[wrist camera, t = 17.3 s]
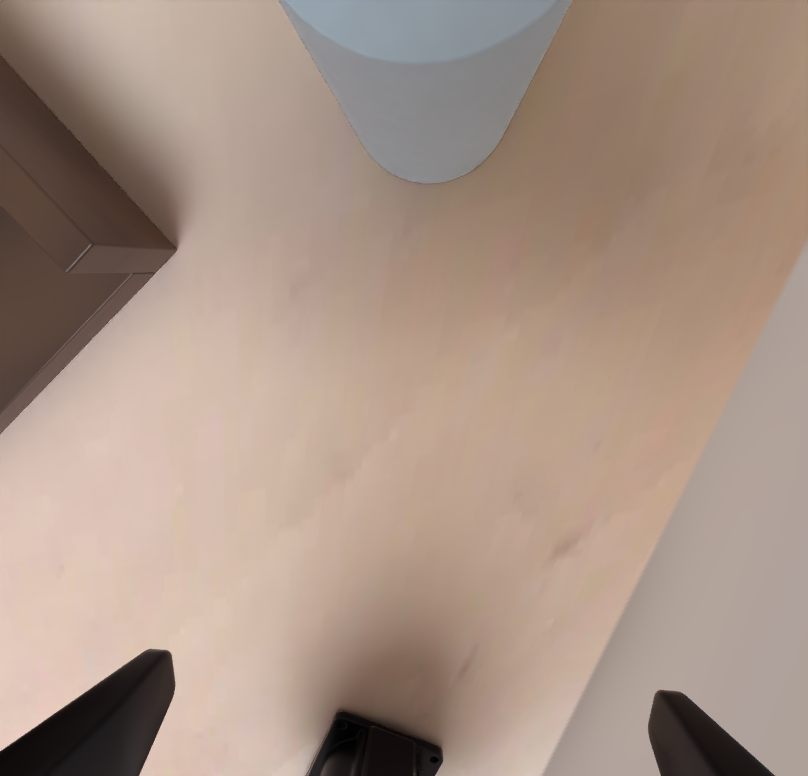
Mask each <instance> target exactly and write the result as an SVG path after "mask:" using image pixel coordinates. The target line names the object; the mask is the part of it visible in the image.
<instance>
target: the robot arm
mask: <svg viewBox="0 0 808 776" xmlns="http://www.w3.org/2000/svg"><path fill="white" fill-rule="evenodd" d="M174 691H175V676H174V668H173V660H172V655H171V653H170V652H169V651H167V650H159V649H149V650H146V651H144V652H143V653H141V654H140V655H138V656H137V657H135V658H134V659H133V660H131V661H130V662H128V663H127V664H125V665H124V666H122V667H121V668H120V669H118V670H117V671H115V672H114V673H112V674H111V675H110V676H108V677H107V678H105V679H104V680H102V681H101V682H99V683H98V684H97V685H95V686H94V687H92V688H91V689H89V690H88V691H87V692H85V693H84V694H82V695H81V696H79V697H78V698H76V699H75V700H74V701H72V702H71V703H69V704H68V705H66V706H65V707H64V708H62V709H61V710H59V711H58V712H56V713H55V714H53V715H52V716H51V717H49V718H48V719H46V720H45V721H43V722H42V723H41V724H39V725H38V726H36V727H35V728H33V729H32V730H30V731H29V732H28V733H26V734H25V735H23V736H22V737H20V738H19V739H17V740H16V741H15V742H13V743H12V744H10V745H9V746H7V747H6V748H5V749H3V750H2V751H0V776H139V775H140V772H141V770H142V768H143V765H144V763H145V761H146V759H147V756H148V754H149V752H150V749H151V747H152V745H153V742H154V740H155V738H156V735H157V733H158V731H159V729H160V726H161V724H162V722H163V719H164V717H165V715H166V712H167V710H168V708H169V705H170V703H171V701H172V698H173V695H174ZM648 733H649V738H650V742H651V745H652V749H653V751H654V755H655V758H656V762H657V764H658V768H659V771H660V774H661V776H775V775H774V774H772V773H771V772H770V771H769V770H768V769H767V768H766V767H765V766H764V765H763V764H761V763H760V762H759V761H758V760H757V759H756V758H755V757H754V756H753V755H751V754H750V753H749V752H748V751H747V750H746V749H745V748H744V747H742V746H741V745H740V744H739V743H738V742H737V741H736V740H734V738H733V737H731V736H730V735H729V734H728V733H727V732H726V731H725V730H724V729H722V728H721V727H720V726H719V725H718V724H717V723H716V722H715V721H714V720H713V719H711V718H710V717H709V716H708V715H707V714H706V713H705V712H704V711H703V710H701V709H700V708H699V707H698V706H697V705H696V704H695V703H694V702H692V701H691V700H690V699H689V698H688V697H687V696H686V695H684V694H683V693H681V692H678V691H666V690H659V691H657V692H656V693H655V696H654V700H653V704H652V709H651V714H650V718H649V723H648ZM442 762H443V751H442V749H441V748H440V747H438V746H435V745H433V744H430V743H427V742H425V741H422V740H419V739H416V738H414V737H411V736H408V735H406V734H403V733H400V732H398V731H395V730H392V729H390V728H387V727H384V726H382V725H379V724H376V723H374V722H371V721H368V720H366V719H363V718H360V717H358V716H355V715H352V714H349V713H347V712H338V713H336V715H335V716H334V718H333V720H332V723H331V725H330V727H329V729H328V731H327V733H326V735H325V738H324V740H323V742H322V744H321V746H320V748H319V750H318V752H317V755H316V757H315V759H314V761H313V763H312V765H311V767H310V770H309V772H308V774H307V776H435V775H436V773H437V771H438V769H439V768H440V766H441V764H442Z"/></svg>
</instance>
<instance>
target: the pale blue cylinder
mask: <svg viewBox="0 0 808 776" xmlns="http://www.w3.org/2000/svg"><path fill="white" fill-rule="evenodd" d="M572 1H573V0H279V2H280V4H281V6H282V7H283V9H284V11H285V12H286V14H287V16H288V18H289V19H290V21H291V23H292V24H293V26H294V28H295V30H296V31H297V33H298V35H299V37H300V38H301V40H302V42H303V43H304V45H305V47H306V49H307V50H308V52H309V54H310V55H311V57H312V59H313V61H314V62H315V64H316V66H317V67H318V69H319V71H320V73H321V74H322V76H323V78H324V80H325V81H326V83H327V85H328V86H329V88H330V90H331V92H332V93H333V95H334V97H335V98H336V100H337V102H338V104H339V105H340V107H341V109H342V110H343V112H344V114H345V116H346V117H347V119H348V121H349V123H350V124H351V126H352V128H353V129H354V131H355V133H356V135H357V136H358V138H359V140H360V141H361V143H362V145H363V147H364V148H365V150H366V151H367V152H368V153H369V155H370V156H371V157H372V158H373V159H374V160H375V161H376V162H377V163H378V164H379V165H380V166H381V167H383V168H384V169H385V170H387V171H388V172H390V173H392V174H393V175H395V176H397V177H399V178H402V179H404V180H407V181H411V182H416V183H424V184H432V183H441V182H447V181H450V180H453V179H456V178H459V177H461V176H463V175H465V174H467V173H469V172H470V171H472V170H473V169H475V168H476V167H477V166H479V165H480V164H481V163H482V162H483V161H484V160H485V159H486V158H487V157H488V156H489V155H490V154H491V153H492V152H493V151H494V149H495V148H496V146H497V145H498V143H499V142H500V140H501V138H502V137H503V135H504V133H505V131H506V129H507V127H508V125H509V123H510V121H511V119H512V117H513V115H514V114H515V112H516V110H517V108H518V106H519V104H520V102H521V100H522V98H523V96H524V94H525V92H526V90H527V88H528V86H529V84H530V82H531V81H532V79H533V77H534V75H535V73H536V71H537V69H538V67H539V65H540V63H541V61H542V59H543V57H544V55H545V53H546V51H547V50H548V48H549V46H550V44H551V42H552V40H553V38H554V36H555V34H556V32H557V30H558V28H559V26H560V24H561V22H562V20H563V18H564V17H565V15H566V13H567V11H568V9H569V7H570V5H571V3H572Z"/></svg>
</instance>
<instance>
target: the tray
mask: <svg viewBox="0 0 808 776" xmlns="http://www.w3.org/2000/svg"><path fill="white" fill-rule="evenodd" d="M175 252H176V248H175V247H174V246H173V245H172V244H171V243H170V242H169V241H168V240H167V238H166V237H165V236H164V235H163V234H162V233H161V232H160V231H159V230H158V229H157V227H156V226H155V225H154V224H153V223H152V222H151V221H150V220H149V219H148V218H147V216H146V215H145V214H144V213H143V212H142V211H141V210H140V209H139V208H138V206H137V205H136V204H135V203H134V202H133V201H132V200H131V199H130V198H129V197H128V195H127V194H126V193H125V192H124V191H123V190H122V189H121V188H120V187H119V186H118V184H117V183H116V182H115V181H114V180H113V179H112V178H111V177H110V176H109V175H108V173H107V172H106V171H105V170H104V169H103V168H102V167H101V166H100V165H99V164H98V162H97V161H96V160H95V159H94V158H93V157H92V156H91V155H90V154H89V153H88V151H87V150H86V149H85V148H84V147H83V146H82V145H81V144H80V143H79V142H78V140H77V139H76V138H75V137H74V136H73V135H72V134H71V133H70V132H69V131H68V129H67V128H66V127H65V126H64V125H63V124H62V123H61V122H60V121H59V120H58V118H57V117H56V116H55V115H54V114H53V113H52V112H51V111H50V110H49V109H48V107H47V106H46V105H45V104H44V103H43V102H42V101H41V100H40V99H39V98H38V96H37V95H36V94H35V93H34V92H33V91H32V90H31V89H30V88H29V87H28V85H27V84H26V83H25V82H24V81H23V80H22V79H21V78H20V77H19V75H18V74H17V73H16V72H15V71H14V70H13V69H12V68H11V67H10V66H9V64H8V63H7V62H6V61H5V60H4V59H3V58H2V57H1V56H0V433H1V432H2V431H3V430H4V429H5V428H6V427H7V426H8V425H9V424H10V423H11V422H12V421H13V420H14V419H15V418H16V417H17V416H18V415H19V414H20V413H21V411H22V410H23V409H24V408H25V407H26V406H27V405H28V404H29V403H30V402H31V401H32V400H33V399H34V398H35V397H36V396H37V395H38V394H39V393H40V392H41V391H42V390H43V389H44V388H45V387H46V386H47V385H48V384H49V382H50V381H51V380H52V379H53V378H54V377H55V376H56V375H57V374H58V373H59V372H60V371H61V370H62V369H63V368H64V367H65V366H66V365H67V364H68V363H69V362H70V361H71V360H72V359H73V358H74V357H75V356H76V355H77V353H78V352H79V351H80V350H81V349H82V348H83V347H84V346H85V345H86V344H87V343H88V342H89V341H90V340H91V339H92V338H93V337H94V336H95V335H96V334H97V333H98V332H99V331H100V330H101V329H102V328H103V327H104V326H105V324H106V323H107V322H108V321H109V320H110V319H111V318H112V317H113V316H114V315H115V314H116V313H117V312H118V311H119V310H120V309H121V308H122V307H123V306H124V305H125V304H126V303H127V302H128V301H129V300H130V299H131V298H132V297H133V295H134V294H135V293H136V292H137V291H138V290H139V289H140V288H141V287H142V286H143V285H144V284H145V283H146V282H147V281H148V280H149V279H150V278H151V277H152V276H153V275H154V272H156V271H157V270H158V269H159V268H160V267H161V266H162V265H163V264H164V263H165V262H166V261H167V260H168V259H169V258H170V257H171V256H172V255H173V254H174V253H175Z"/></svg>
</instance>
